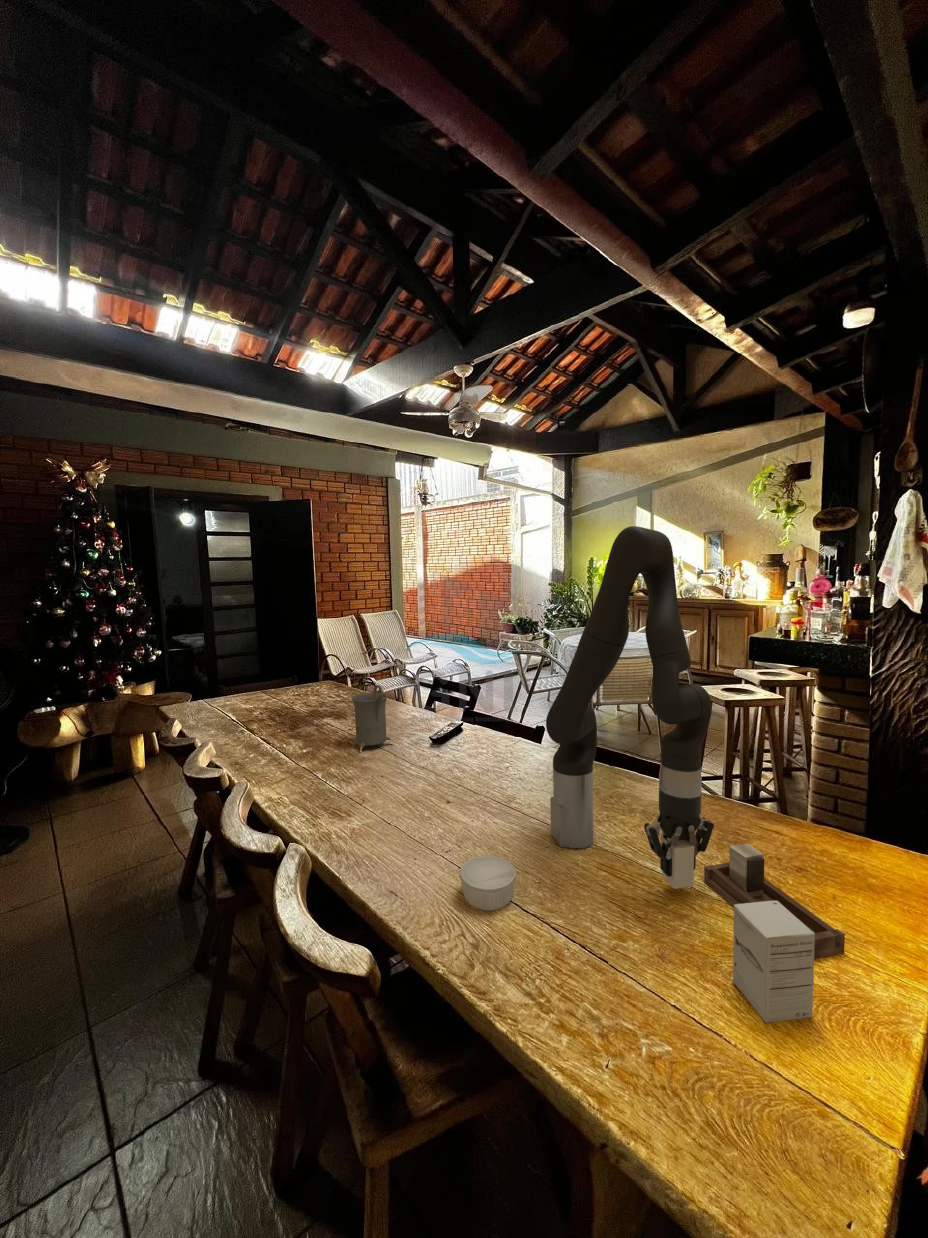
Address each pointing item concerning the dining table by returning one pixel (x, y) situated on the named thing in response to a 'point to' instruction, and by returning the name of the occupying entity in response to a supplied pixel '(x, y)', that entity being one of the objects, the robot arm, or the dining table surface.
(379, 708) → the grey footed pot
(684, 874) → the grey upright block
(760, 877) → the rail
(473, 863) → the ramekin
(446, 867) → the dining table surface
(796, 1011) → the supplement box
